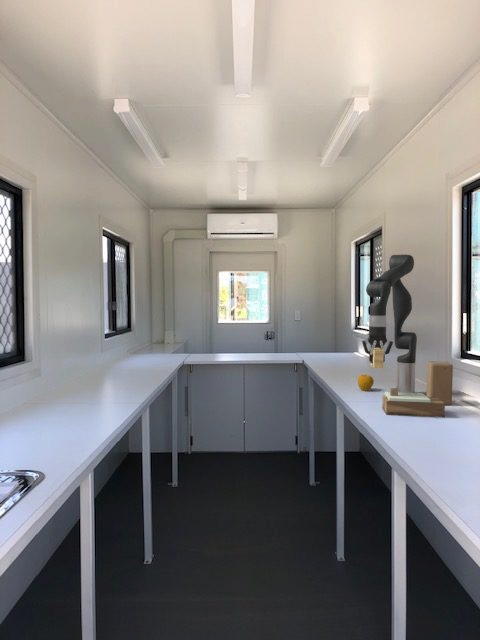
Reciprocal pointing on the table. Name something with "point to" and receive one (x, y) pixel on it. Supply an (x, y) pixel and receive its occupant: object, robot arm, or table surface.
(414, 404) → the wooden box
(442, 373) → the wooden block
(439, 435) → the table surface
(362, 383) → the apple
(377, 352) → the key
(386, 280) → the robot arm
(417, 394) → the lid
